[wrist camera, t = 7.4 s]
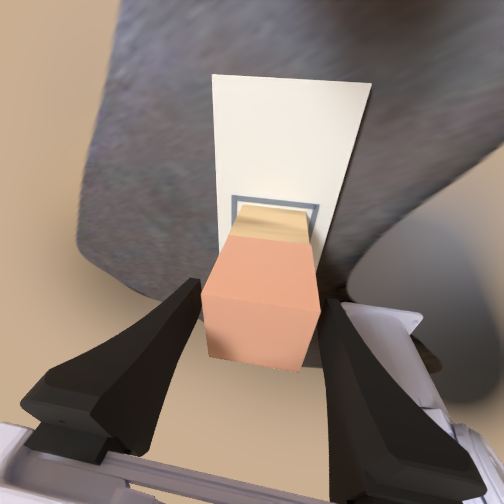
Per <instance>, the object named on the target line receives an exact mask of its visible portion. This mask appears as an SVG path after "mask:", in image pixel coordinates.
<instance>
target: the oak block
mask: <svg viewBox="0 0 504 504" xmlns="http://www.w3.org/2000/svg"><path fill="white" fill-rule="evenodd" d="M228 235H234V236H242V237H250V238H258V239H267V240H275V241H283V242H291V243H300V244H308V245H310V243H309V235H308V227H307V219H306V211H298V210H289V209H280V208H271V207H262V206H253V205H244V204H243V205H242V207H241V209H240V211H239V213H238V215H237V217H236V219H235V221H234V224H233V226H232V228H231V230H230V232H229V234H228Z"/></svg>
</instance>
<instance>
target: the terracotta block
mask: <svg viewBox="0 0 504 504" xmlns="http://www.w3.org/2000/svg"><path fill="white" fill-rule="evenodd" d="M201 299H202V307H203V315H204V323H205V330H206V338H207V346H208V354H209V357H213V358H219V359H224V360H230V361H236V362H241V363H247V364H252V365H258V366H264V367H269V368H275V369H281V370H286V371H292V372H298V373H299V371H300V369H301V366H302V363H303V360H304V357H305V355H306V352H307V349H308V346H309V343H310V341H311V338H312V335H313V332H314V329H315V327H316V324H317V321H318V318H319V316H320V313H321V310H320V303H319V296H318V289H317V281H316V274H315V267H314V260H313V252H312V245H308V244H300V243H291V242H283V241H275V240H267V239H258V238H250V237H242V236H234V235H228V238H227V240H226V242H225V244H224V246H223V248H222V250H221V252H220V255H219V257H218V259H217V261H216V263H215V265H214V267H213V269H212V272H211V274H210V276H209V278H208V280H207V282H206V284H205V287H204V289H203V291H202V293H201Z"/></svg>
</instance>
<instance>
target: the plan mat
mask: <svg viewBox="0 0 504 504" xmlns="http://www.w3.org/2000/svg"><path fill="white" fill-rule="evenodd" d="M371 85H372V83H356V82H339V81H321V80H303V79H286V78H268V77H250V76H232V75H215V74H212V89H213V112H214V136H215V160H216V184H217V207H218V231H219V255H220V252H221V250H222V248H223V246H224V244H225V242H226V240H227V238H228V234H229V232H230V230H231V228H232V226H233V224H234V221H235V219H236V217H237V215H238V213H239V211H240V209H241V207H242V205H243V204H244V205H253V206H262V207H271V208H280V209H289V210H298V211H306V219H307V227H308V235H309V243H310V245H312V252H313V260H314V267H315V273H316V270H317V267H318V263H319V260H320V257H321V253H322V250H323V246H324V243H325V240H326V236H327V233H328V230H329V226H330V223H331V220H332V216H333V213H334V209H335V206H336V203H337V199H338V196H339V193H340V189H341V186H342V182H343V179H344V176H345V172H346V169H347V166H348V162H349V159H350V156H351V152H352V149H353V145H354V142H355V139H356V135H357V132H358V129H359V125H360V122H361V119H362V115H363V112H364V108H365V105H366V102H367V98H368V95H369V92H370V88H371Z"/></svg>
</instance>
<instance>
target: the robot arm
mask: <svg viewBox="0 0 504 504" xmlns="http://www.w3.org/2000/svg"><path fill="white" fill-rule="evenodd" d="M201 293H202V290H201V282H200V279H195V278H189V279H188V280H187V281H186V282H185V283H184V284H183V285H181V286H180V287H179V288H178V289H177V290H176V291H175V292H174V293H173V294H172V295H170V296H169V297H168V298H167V299H166V300H165V301H163V302H162V303H161V304H160V305H159V306H157V307H156V308H155V309H154V310H152V311H151V312H150V313H149V314H148V315H146V316H145V317H143V318H142V319H140V320H139V321H138V322H136V323H135V324H133V325H132V326H130V327H129V328H127V329H126V330H124V331H123V332H121V333H119V334H118V335H116V336H115V337H113V338H111V339H109V340H108V341H106V342H104V343H103V344H100V345H99V346H97V347H95V348H93V349H91V350H89V351H87V352H85V353H83V354H81V355H79V356H77V357H75V358H73V359H71V360H69V361H66V362H64V363H62V364H60V365H58V366H56V367H53V368H51V369H49V371H47V372H46V373H45V375H44V376H43V377H42V378H41V379H40V380H39V381H38V382H37V383H36V384H35V386H34V387H33V388H32V389H31V390H30V391H29V392H28V393H27V394H26V396H25V397H24V398H23V399H22V400H21V402H20V406H21V407H22V409H24V410H25V411H26V412H28V413H29V414H31V415H32V416H33V417H35V418H36V419H38V420H40V421H41V423H40V424H39V426H38V427H37V428H36V430H34V429H32V428H29V427H25V426H21V425H16V424H12V423H8V422H2V423H0V504H165V503H162V502H160V501H158V500H157V499H155V496H152V495H149V494H146V493H142V492H139V491H136V490H133V489H130V485H129V483H131V484H135V485H139V486H144V487H148V488H152V489H156V490H160V491H165V492H168V493H173V494H177V495H181V496H185V497H189V498H193V499H197V500H201V501H205V502H210V503H214V504H504V465H503V464H502V462H501V460H500V459H499V457H498V456H497V454H496V453H495V451H494V450H493V449H492V447H491V446H490V444H489V443H488V442H487V440H486V439H485V438H484V437H483V436H482V435H481V434H480V433H478V432H476V431H475V430H473V429H471V428H470V427H469V426H468V425H466V424H464V423H460V424H456V423H455V422H454V421H453V420H452V419H451V417H450V415H449V413H448V411H447V409H446V408H445V405H444V403H443V401H442V399H441V398H440V396H439V393H438V391H437V389H436V387H435V385H434V383H433V381H432V379H431V377H430V375H429V373H428V371H427V369H426V367H425V365H424V363H423V362H422V360H421V358H420V356H419V354H418V352H417V350H416V348H415V346H414V344H413V342H412V340H411V338H410V336H409V335H410V334H411V333H412V331H413V330H414V329H415V328H416V327H417V325H418V324H419V323H420V322H421V320H422V319H423V316H422V314H421V313H418V312H411V311H404V310H397V309H390V308H384V307H377V306H370V305H363V304H356V303H349V302H342V303H341V304H340V302H339V300H338V299H332V298H326V300H325V303H324V306H323V308H322V311H321V314H320V316H319V319H318V340H319V346H320V353H321V359H322V366H323V372H324V378H325V386H326V398H327V416H328V439H329V497H330V502H328V501H323V500H319V499H314V498H310V497H306V496H301V495H297V494H293V493H289V492H285V491H280V490H276V489H271V488H267V487H263V486H258V485H254V484H250V483H246V482H241V481H237V480H233V479H228V478H224V477H219V476H215V475H211V474H207V473H202V472H198V471H193V470H189V469H185V468H181V467H176V466H172V465H167V464H163V463H159V462H155V461H150V460H146V459H142V458H137V457H133V456H138V457H141V456H143V455H144V454H145V453H147V452H148V451H149V449H150V445H151V441H152V438H153V435H154V431H155V428H156V425H157V421H158V418H159V415H160V412H161V409H162V406H163V403H164V400H165V397H166V394H167V391H168V388H169V385H170V382H171V379H172V377H173V374H174V371H175V368H176V366H177V363H178V360H179V358H180V356H181V354H182V351H183V349H184V347H185V345H186V343H187V341H188V339H189V337H190V335H191V332H192V330H193V328H194V326H195V324H196V322H197V320H198V317H199V314H200V311H201V308H202V299H201ZM125 454H127V455H125ZM129 455H133V456H129Z"/></svg>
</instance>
